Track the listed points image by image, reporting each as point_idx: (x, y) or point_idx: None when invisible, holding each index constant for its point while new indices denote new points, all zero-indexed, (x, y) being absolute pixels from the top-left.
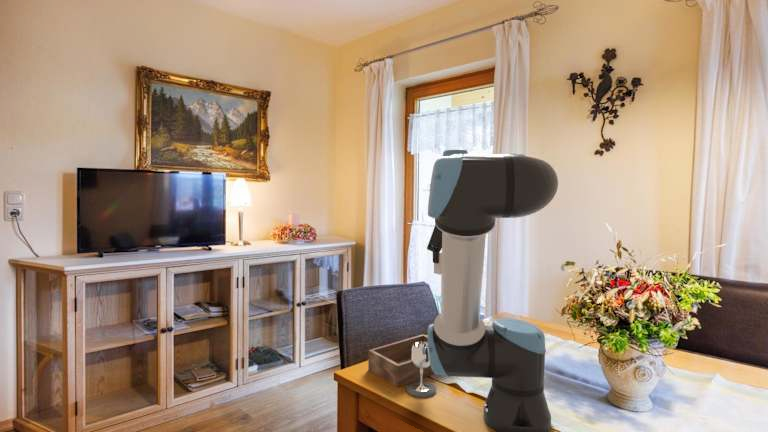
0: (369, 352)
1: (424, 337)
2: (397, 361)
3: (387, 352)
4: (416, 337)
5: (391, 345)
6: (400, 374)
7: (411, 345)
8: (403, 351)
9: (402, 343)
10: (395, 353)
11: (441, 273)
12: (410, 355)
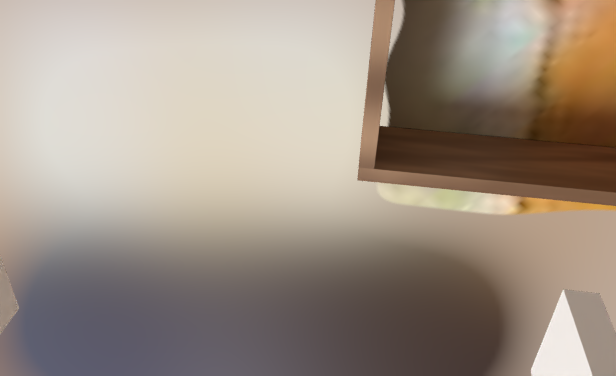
0: None
1: (375, 156)
2: (523, 140)
3: (594, 174)
4: (416, 174)
5: (577, 187)
6: None
7: (447, 159)
8: (495, 155)
9: (506, 177)
10: (542, 161)
11: (576, 300)
12: (450, 136)
